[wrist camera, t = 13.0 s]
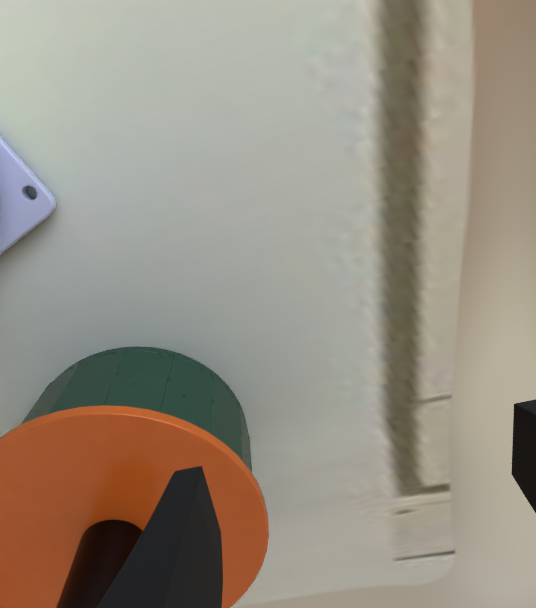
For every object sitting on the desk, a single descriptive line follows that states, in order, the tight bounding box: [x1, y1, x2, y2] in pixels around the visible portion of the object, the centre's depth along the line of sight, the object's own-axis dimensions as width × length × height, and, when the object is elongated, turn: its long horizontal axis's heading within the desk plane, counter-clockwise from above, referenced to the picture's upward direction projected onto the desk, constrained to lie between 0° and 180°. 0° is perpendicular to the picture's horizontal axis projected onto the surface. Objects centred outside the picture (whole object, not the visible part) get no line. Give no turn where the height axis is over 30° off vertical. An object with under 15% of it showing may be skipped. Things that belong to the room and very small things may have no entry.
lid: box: [0, 405, 269, 608], centre depth 15 cm, size 11×11×4 cm
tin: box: [21, 347, 252, 473], centre depth 19 cm, size 10×10×5 cm
